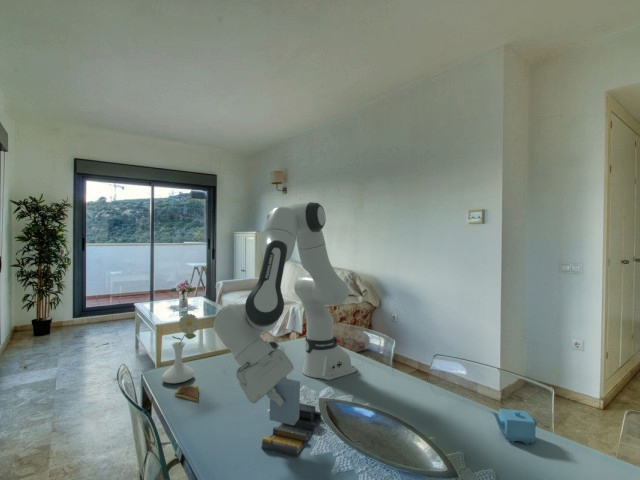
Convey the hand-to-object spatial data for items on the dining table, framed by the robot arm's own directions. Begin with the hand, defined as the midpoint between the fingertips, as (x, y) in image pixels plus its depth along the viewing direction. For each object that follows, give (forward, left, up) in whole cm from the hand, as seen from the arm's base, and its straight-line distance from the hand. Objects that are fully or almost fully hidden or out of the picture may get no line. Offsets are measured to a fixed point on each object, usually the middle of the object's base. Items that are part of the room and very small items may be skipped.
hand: (287, 399), depth 89 cm
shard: (+20, -41, -13) cm, 47 cm away
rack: (-4, -5, -12) cm, 14 cm away
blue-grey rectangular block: (0, 0, -5) cm, 5 cm away
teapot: (-59, +22, -13) cm, 64 cm away
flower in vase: (+23, -55, -12) cm, 61 cm away
